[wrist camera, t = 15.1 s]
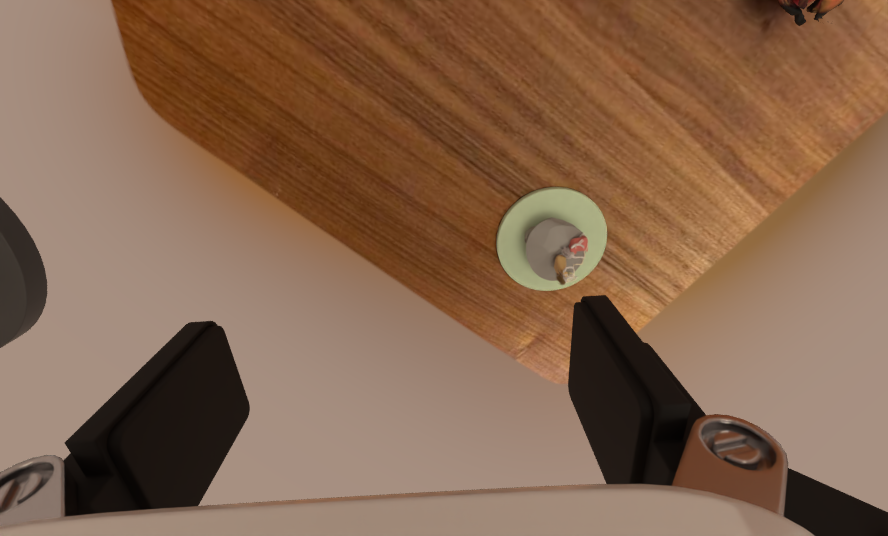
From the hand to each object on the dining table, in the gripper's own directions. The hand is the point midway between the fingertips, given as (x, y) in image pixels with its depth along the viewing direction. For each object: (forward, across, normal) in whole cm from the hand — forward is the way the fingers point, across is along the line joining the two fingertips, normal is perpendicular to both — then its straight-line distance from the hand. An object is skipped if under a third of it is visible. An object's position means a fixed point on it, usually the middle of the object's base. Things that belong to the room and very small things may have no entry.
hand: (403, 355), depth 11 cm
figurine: (+20, -9, +5) cm, 23 cm away
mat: (+21, -9, +5) cm, 23 cm away
